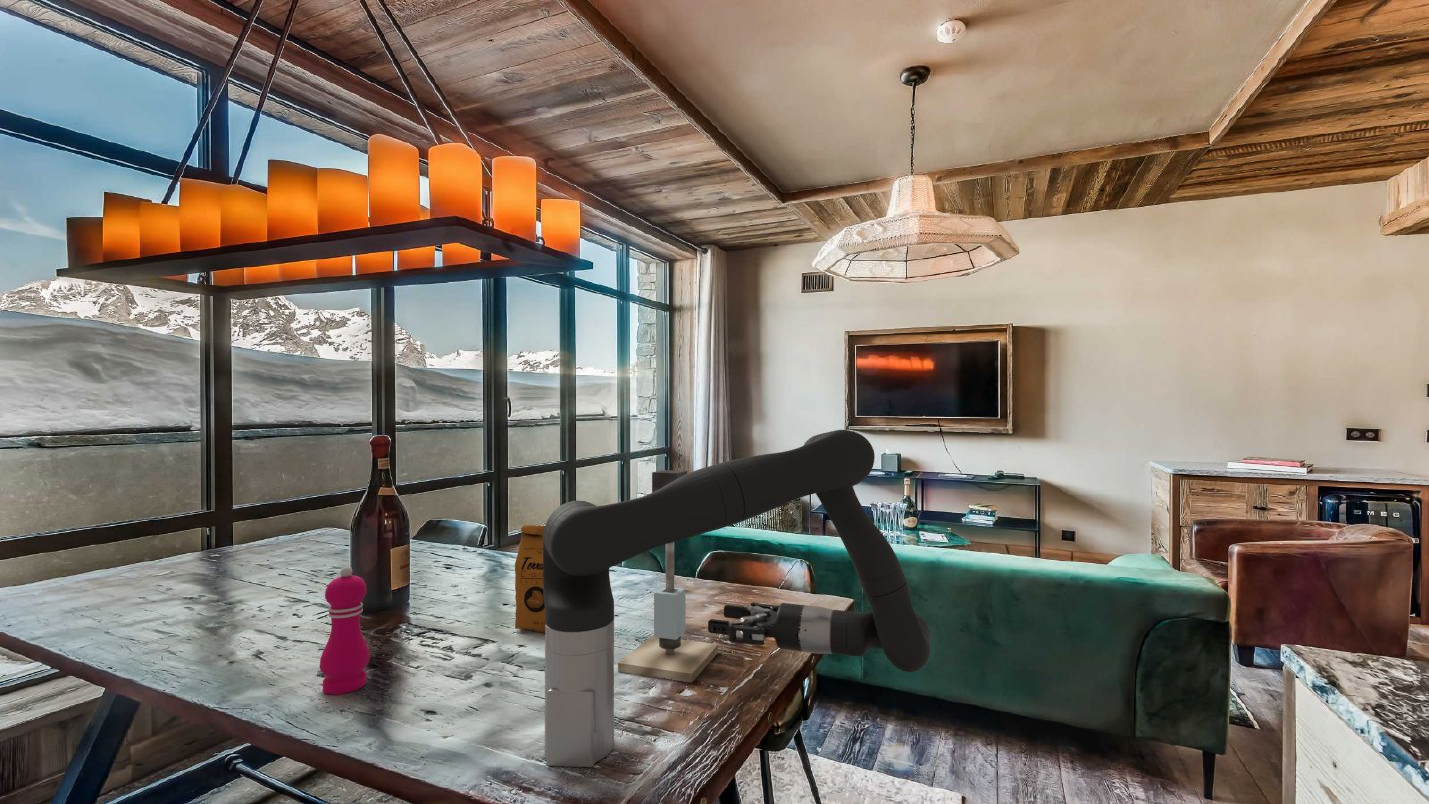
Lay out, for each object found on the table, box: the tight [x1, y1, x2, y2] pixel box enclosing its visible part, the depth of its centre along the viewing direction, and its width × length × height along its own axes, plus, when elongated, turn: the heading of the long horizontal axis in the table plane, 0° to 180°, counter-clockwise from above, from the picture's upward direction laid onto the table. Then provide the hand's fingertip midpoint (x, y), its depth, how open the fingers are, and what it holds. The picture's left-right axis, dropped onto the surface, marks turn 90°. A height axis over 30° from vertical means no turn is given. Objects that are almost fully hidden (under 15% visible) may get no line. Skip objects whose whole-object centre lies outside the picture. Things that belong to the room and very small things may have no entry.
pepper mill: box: [319, 566, 371, 695], centre depth 102 cm, size 7×7×20 cm
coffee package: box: [514, 524, 546, 634], centre depth 130 cm, size 10×12×22 cm
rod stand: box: [617, 469, 719, 683], centre depth 112 cm, size 14×14×35 cm
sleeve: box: [653, 586, 686, 640], centre depth 112 cm, size 4×4×8 cm
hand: (716, 618), depth 109 cm, fingers open, 8 cm apart
